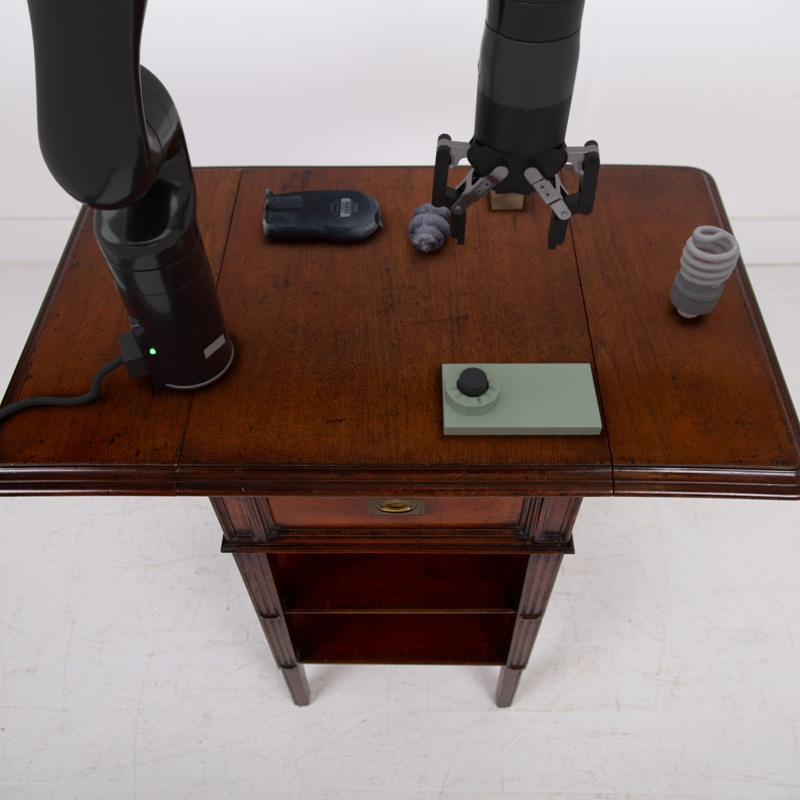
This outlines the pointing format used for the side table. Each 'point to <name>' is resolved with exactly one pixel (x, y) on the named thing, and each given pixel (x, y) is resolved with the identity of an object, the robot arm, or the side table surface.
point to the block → (506, 201)
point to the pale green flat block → (523, 401)
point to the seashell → (429, 227)
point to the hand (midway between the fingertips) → (506, 241)
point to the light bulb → (703, 271)
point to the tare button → (473, 382)
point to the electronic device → (320, 215)
